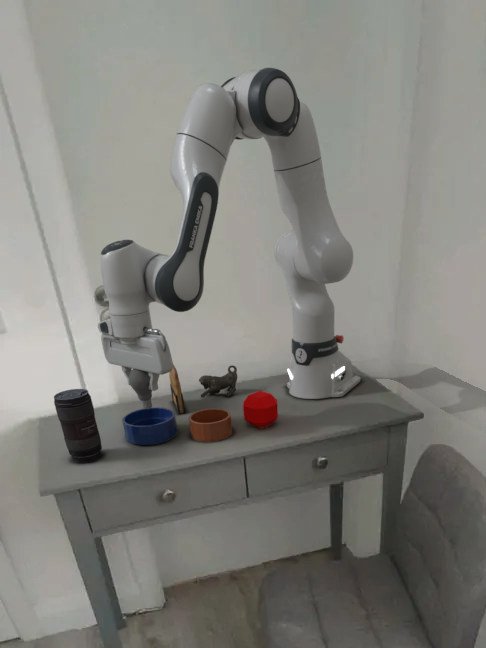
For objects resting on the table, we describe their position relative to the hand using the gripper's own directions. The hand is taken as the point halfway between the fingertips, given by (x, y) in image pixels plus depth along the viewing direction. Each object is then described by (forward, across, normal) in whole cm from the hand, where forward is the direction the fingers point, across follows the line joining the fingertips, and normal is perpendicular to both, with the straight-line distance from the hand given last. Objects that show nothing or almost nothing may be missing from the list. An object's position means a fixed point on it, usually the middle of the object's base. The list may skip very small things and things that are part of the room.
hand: (143, 387), depth 144 cm
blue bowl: (+12, 0, 0) cm, 12 cm away
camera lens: (+12, +4, +17) cm, 21 cm away
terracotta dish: (+12, -12, -9) cm, 19 cm away
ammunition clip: (+12, +9, -18) cm, 24 cm away
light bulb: (+5, 0, 0) cm, 5 cm away
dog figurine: (+12, +6, -31) cm, 34 cm away
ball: (+12, -19, -20) cm, 30 cm away
